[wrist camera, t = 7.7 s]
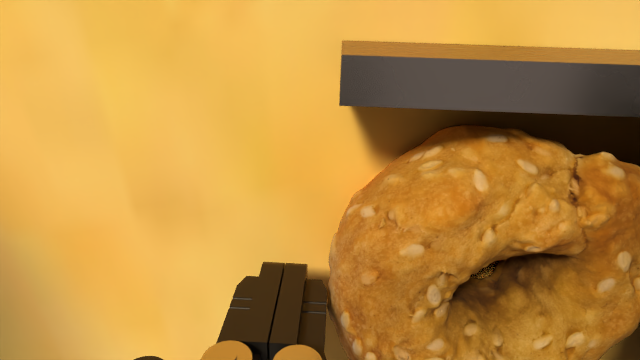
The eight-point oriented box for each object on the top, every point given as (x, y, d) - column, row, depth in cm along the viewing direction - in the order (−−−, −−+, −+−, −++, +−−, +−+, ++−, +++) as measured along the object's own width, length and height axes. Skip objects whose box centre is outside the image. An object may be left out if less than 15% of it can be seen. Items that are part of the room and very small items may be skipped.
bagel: (636, 321, 16) (739, 440, 12) (361, 361, 18) (364, 476, 14) (643, 71, 13) (796, 111, 8) (297, 152, 15) (274, 220, 10)
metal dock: (325, 403, 19) (315, 635, 12) (342, 40, 12) (339, 101, 6) (647, 424, 18) (824, 678, 12) (839, 57, 12) (1494, 146, 5)
